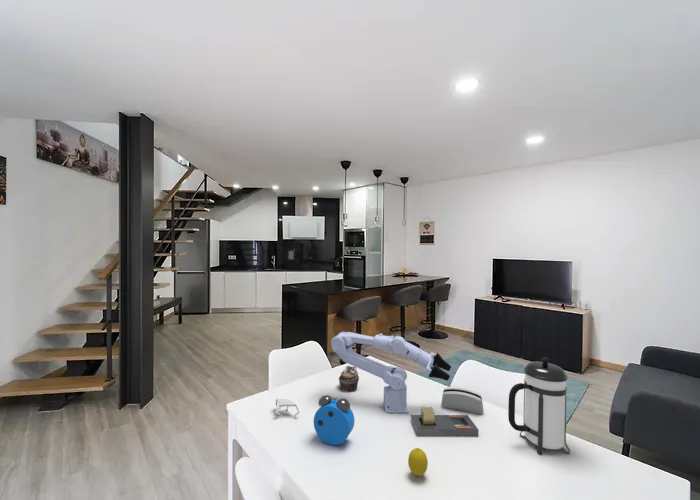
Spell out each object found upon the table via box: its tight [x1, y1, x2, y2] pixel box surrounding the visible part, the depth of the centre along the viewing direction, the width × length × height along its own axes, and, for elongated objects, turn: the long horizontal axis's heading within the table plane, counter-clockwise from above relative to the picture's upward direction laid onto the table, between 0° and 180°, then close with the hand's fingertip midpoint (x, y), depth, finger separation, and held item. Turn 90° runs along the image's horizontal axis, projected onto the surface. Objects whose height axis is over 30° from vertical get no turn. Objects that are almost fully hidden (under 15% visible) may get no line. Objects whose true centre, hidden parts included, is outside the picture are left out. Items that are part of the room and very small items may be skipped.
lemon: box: [407, 447, 429, 477], centre depth 94 cm, size 6×6×8 cm
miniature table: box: [274, 398, 300, 419], centre depth 127 cm, size 12×8×5 cm
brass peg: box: [420, 406, 436, 426], centre depth 119 cm, size 4×4×7 cm
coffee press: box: [507, 356, 571, 456], centre depth 110 cm, size 17×16×30 cm
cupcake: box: [338, 365, 360, 393], centre depth 152 cm, size 10×10×10 cm
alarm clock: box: [313, 394, 355, 446], centre depth 110 cm, size 13×6×15 cm, turn 70°
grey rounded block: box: [440, 387, 484, 415], centre depth 134 cm, size 17×5×10 cm, turn 68°
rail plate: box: [410, 414, 479, 437], centre depth 119 cm, size 22×10×3 cm, turn 91°
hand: (449, 373), depth 128 cm, fingers open, 7 cm apart
